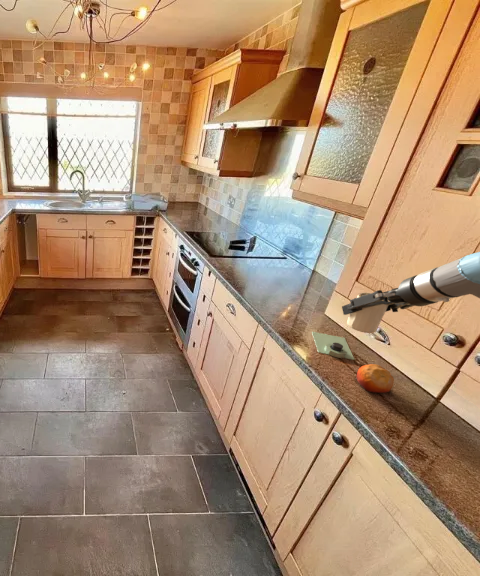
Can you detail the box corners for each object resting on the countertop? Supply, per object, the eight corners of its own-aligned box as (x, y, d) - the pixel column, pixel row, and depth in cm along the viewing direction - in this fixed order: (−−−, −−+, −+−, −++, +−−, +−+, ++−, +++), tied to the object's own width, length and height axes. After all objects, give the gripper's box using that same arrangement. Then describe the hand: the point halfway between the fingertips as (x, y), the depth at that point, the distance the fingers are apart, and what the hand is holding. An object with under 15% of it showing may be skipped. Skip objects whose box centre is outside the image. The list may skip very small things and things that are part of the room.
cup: (371, 322, 96) (384, 294, 92) (379, 335, 90) (394, 306, 86) (343, 318, 99) (355, 290, 94) (350, 330, 93) (362, 301, 88)
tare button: (340, 348, 102) (342, 343, 101) (342, 352, 100) (344, 348, 99) (330, 345, 103) (331, 341, 102) (332, 350, 101) (333, 346, 100)
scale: (343, 340, 110) (346, 334, 108) (354, 364, 98) (357, 357, 97) (310, 334, 113) (313, 327, 112) (317, 356, 102) (320, 349, 101)
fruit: (370, 369, 94) (390, 361, 87) (382, 396, 90) (405, 389, 83) (343, 369, 94) (361, 361, 88) (354, 396, 90) (374, 389, 83)
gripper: (389, 302, 74) (326, 321, 96) (478, 303, 73) (394, 323, 94) (381, 272, 76) (321, 298, 98) (467, 274, 75) (387, 299, 97)
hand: (357, 310), depth 96 cm, fingers closed on cup, 7 cm apart
